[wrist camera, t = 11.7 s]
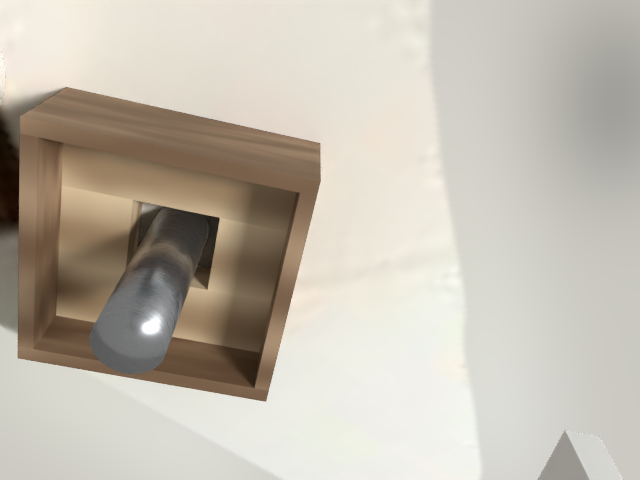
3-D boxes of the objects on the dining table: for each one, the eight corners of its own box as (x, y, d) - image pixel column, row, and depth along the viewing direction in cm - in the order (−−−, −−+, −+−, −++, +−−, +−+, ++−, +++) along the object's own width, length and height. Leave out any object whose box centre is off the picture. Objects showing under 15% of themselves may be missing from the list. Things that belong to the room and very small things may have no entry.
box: (66, 87, 40) (20, 116, 34) (320, 143, 42) (320, 181, 35) (57, 301, 47) (17, 358, 41) (272, 341, 49) (265, 401, 43)
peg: (157, 197, 43) (91, 305, 31) (213, 208, 44) (170, 320, 31) (151, 246, 45) (87, 366, 33) (205, 256, 46) (162, 380, 33)
